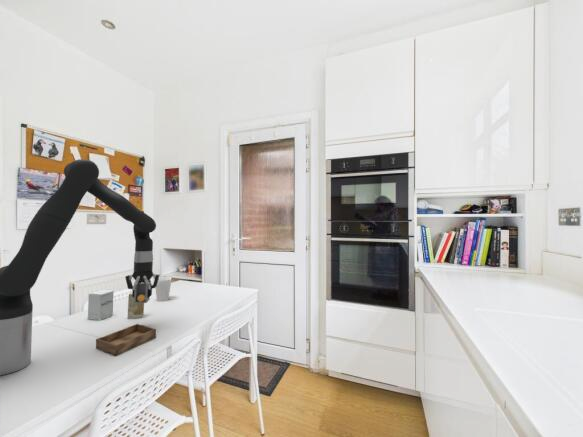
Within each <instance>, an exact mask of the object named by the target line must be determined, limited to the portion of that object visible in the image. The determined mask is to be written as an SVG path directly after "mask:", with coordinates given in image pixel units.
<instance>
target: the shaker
mask: <svg viewBox="0 0 583 437" xmlns="http://www.w3.org/2000/svg"><path fill="white" fill-rule="evenodd" d="M141 294H143V295H145V300H144V301H142V302H140V301H138V299H137V298H138V296H139V295H141ZM150 297H151V296H150ZM150 297H149V298H148V285H146V283H139V284H138V285H135V291H134V304H136V303H144V304H146V303H148V302H149V301H150Z"/></svg>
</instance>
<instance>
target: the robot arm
mask: <svg viewBox="0 0 583 437" xmlns="http://www.w3.org/2000/svg"><path fill="white" fill-rule="evenodd" d="M63 168H64V169H63V175H64V176H65V177H64V179H63V181H62V183H61V185H60V186H59V187H58V188H57V190H56V191H55V192H54V193H53V194H51V196H50V197H48V199H46V201H45V202H44V203H43V204H42V205H41V206H40V208H39V209H38V210H37V212H35V215H34V216H33V218H31V221H30V222H29V224H28V226H27V228H26V231H25V234H24V237H23V240H22V242H21V245H20V248H19V249H18V252H17V253H16V255H15V256H14V257H13V259H12V260H11V261H10V263H9V264H7V265H5V266H2V267H0V376H3V375H8V374H13V373H14V372H18V371H20V370H22V369H24V368H26V367H28V366H29V365H30V364H31V362H32V342H33V340H32V338H33V336H32V335H33V334H32V333H33V309H34V308H33V306H34V305H33V301H32V299H31V298H32V297H31V289H32V288H33V287H34V286H35V284H36V282H37V280H38V278H39V276H40V273H41V271H42V269H43V267H44V265H45V262H46V260H47V259H48V257H49V255H50V254H51V252H52V251H53V250H54V249H55V246H56V245H57V243H58V242H59V240H60V238H61V237H62V236H63V234H64V233H65V231H66V229H67V228H68V226H69V225H70V223H71V221H72V219H73V217H74V215H75V214H76V212H77V210H78V208H79V205H80V204H81V202H82V200H83V198H84V196H85V195H86V193H89V194H90V195H92V196H93V197H95V198H96V199H98V200H99V201H101V202H102V203H103V204H105V205H106V206H107V207H109V208H110V209H111V211H114V212H115V213H116V214H117V215H119V216H120V217H121V218H122V219H124V220H125V221H128V222H130V223H132V224H133V226H132V227H133V235H134V241H135V242H134V243H135V246H134V256H133V273H132V274H128V275H126V276H125V281H126V285H127V286H126V287H127V289H128V290H132V291H131V292H132V296H133V297H134V291H135V285H138V284H139V283H146V285H148V298H149V297H151V296H152V295H153V289H155V287H156V286H157V283H158V280H159V278H160V274H155V273H154V272H153V270H154V269H153V266H154V265H153V263H154V262H153V261H154V254H153V249H154V248H153V247H154V245H153V244H154V243H153V242H154V240H153V239H152V238H151V237H150V233H152V232H154V231H155V230H156V228H157V223H156V221H155V220H154V219H153V218H152V217H151V216H150V215H148V214H147V213H145V212H143V211H142V210H140V209H139V208H137V206H136V205H134V204H133V203H132V202H131V201H130V200H129V199H127V198H126V197H125V196H123V195H121V194H120V193H118V192H116V191H114V190H113V189H111V188H110V187H108V186H107V185H105V183H103V182H102V181H101V180H100V179H99V176H100V170H99V166H98V164H96V163H95V162H94V161H92V160H89V159H86V158H85V159H84V158H82V159H81V158H80V159H76V160H72V161H71V162H68V163H67V164H66V165H65V166H64V167H63ZM152 278H153V280H154V281H153V284H152V281H151V279H152ZM132 280H135V281H134V283H132Z"/></svg>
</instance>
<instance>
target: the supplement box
mask: <svg viewBox="0 0 583 437" xmlns="http://www.w3.org/2000/svg"><path fill="white" fill-rule="evenodd" d="M87 300H88V301H87V302H88V303H87V320H94V321H101V320H104V319H105V318H109V317H111V316H113V314H114V290H109V289H108V290H106V289H101V290H98V291H94V292H91V293H88V299H87Z"/></svg>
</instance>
